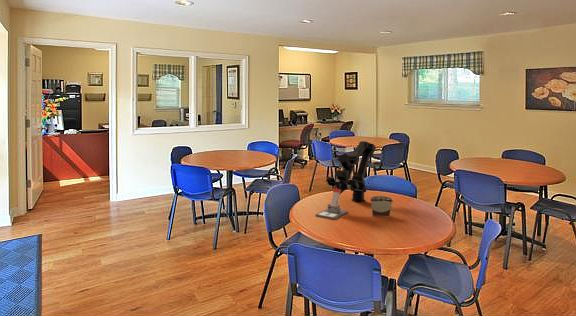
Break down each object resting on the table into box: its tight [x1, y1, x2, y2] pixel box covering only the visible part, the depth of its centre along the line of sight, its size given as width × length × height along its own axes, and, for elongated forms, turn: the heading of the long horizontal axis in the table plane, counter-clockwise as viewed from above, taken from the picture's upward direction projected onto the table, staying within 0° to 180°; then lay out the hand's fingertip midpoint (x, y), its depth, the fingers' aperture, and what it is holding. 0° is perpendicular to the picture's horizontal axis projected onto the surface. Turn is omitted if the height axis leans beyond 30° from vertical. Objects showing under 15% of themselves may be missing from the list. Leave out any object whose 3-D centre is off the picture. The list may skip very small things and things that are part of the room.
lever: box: [330, 187, 342, 209], centre depth 239 cm, size 2×4×11 cm, turn 58°
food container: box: [369, 195, 394, 217], centre depth 235 cm, size 12×6×10 cm, turn 84°
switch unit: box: [315, 203, 349, 221], centre depth 236 cm, size 16×12×5 cm
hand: (337, 195), depth 240 cm, fingers closed
